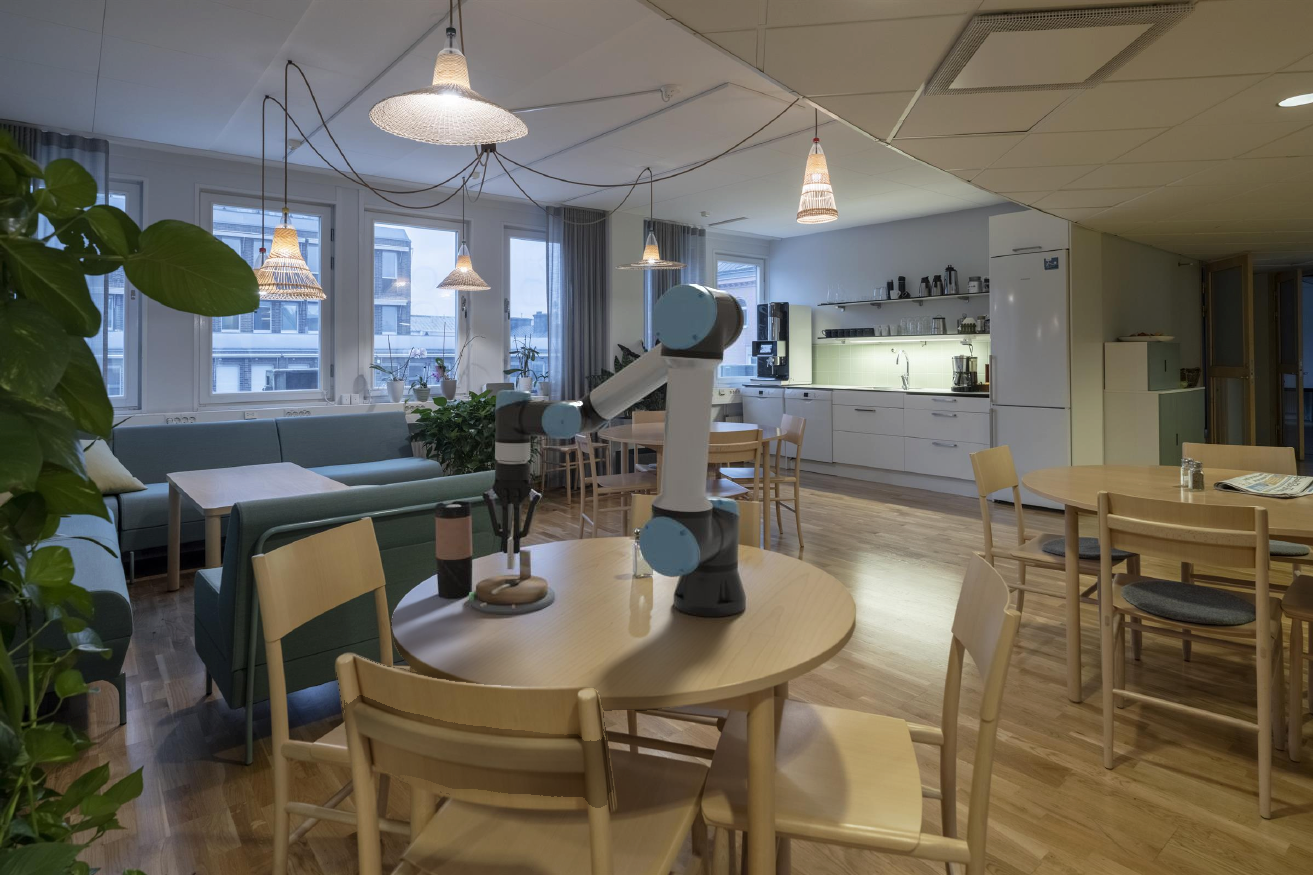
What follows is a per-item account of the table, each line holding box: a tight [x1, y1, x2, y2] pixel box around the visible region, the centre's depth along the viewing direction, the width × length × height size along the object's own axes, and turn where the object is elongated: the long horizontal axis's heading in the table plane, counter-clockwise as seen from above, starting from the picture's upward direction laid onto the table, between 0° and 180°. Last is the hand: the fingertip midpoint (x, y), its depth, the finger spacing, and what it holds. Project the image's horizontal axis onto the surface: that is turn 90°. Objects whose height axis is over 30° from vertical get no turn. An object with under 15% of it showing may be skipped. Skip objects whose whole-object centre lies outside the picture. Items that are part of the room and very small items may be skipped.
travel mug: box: [434, 500, 473, 600], centre depth 160 cm, size 8×8×20 cm
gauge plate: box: [468, 586, 556, 615], centre depth 157 cm, size 18×18×2 cm
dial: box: [475, 549, 549, 605], centre depth 156 cm, size 15×15×8 cm
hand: (511, 567), depth 161 cm, fingers closed
